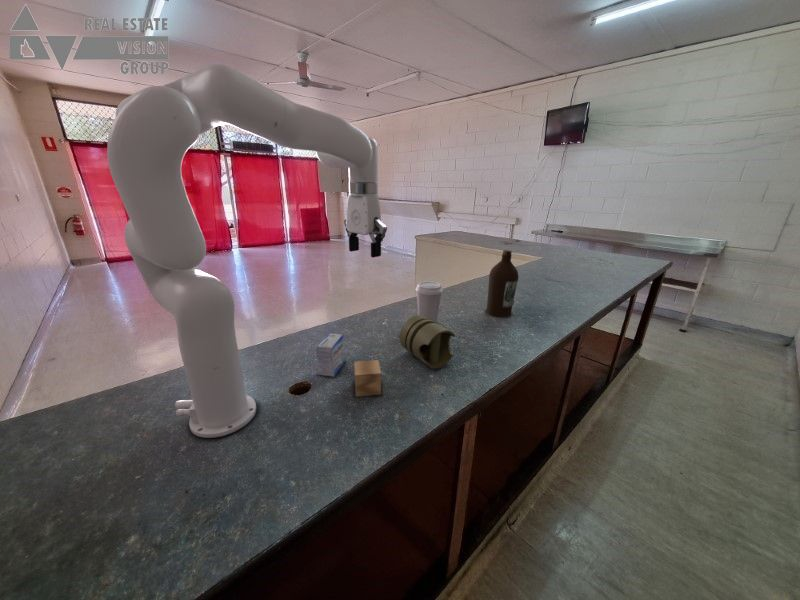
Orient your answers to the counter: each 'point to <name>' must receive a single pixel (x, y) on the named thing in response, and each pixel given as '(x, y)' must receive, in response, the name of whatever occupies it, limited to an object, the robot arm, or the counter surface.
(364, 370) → the maple block
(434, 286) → the coffee cup
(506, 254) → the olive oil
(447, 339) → the piston
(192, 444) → the counter surface
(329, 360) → the medicine box
